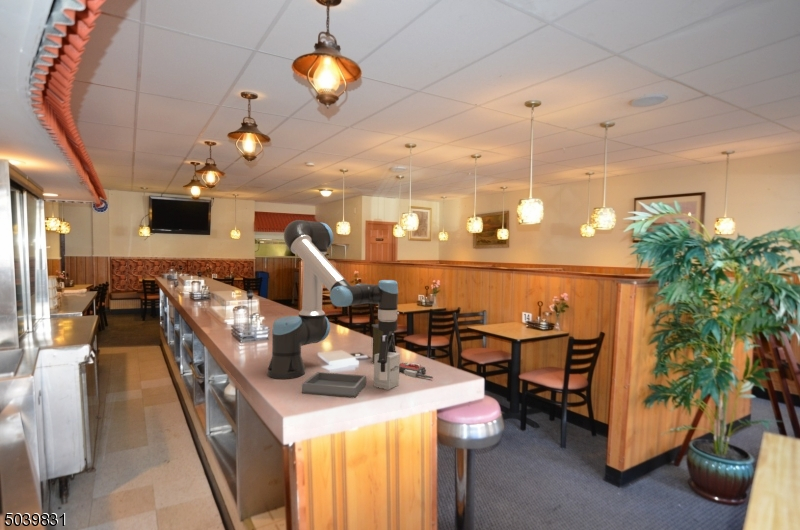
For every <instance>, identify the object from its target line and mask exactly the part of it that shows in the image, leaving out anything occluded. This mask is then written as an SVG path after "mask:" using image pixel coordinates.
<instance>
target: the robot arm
mask: <svg viewBox="0 0 800 530" xmlns="http://www.w3.org/2000/svg"><path fill="white" fill-rule="evenodd" d="M283 240H284V243H285V245H286V247H287V248H288V249H289V250H290V252H291V253H293V254H295V255H297V256H298V257H299V258H300V259H301V260H302V261H303V271H302V272H303V274H302V275H303V277H302V279H303V280H302V303H301V304H302V308H301V310H300V311H299V312H298V315H290V316H283V317H280V318H276V320H274V321H273V323H272V331H271V333H272V335H271V336H272V343H271V344H272V346H271V347H272V351H271V352H272V353H271V354H272V355H271V358H270V361H269V365H268V368H267V376H268V377H269V378H271V379H272V378H273V379H277V380H280V379H281V380H286V379H287V380H288V379H295V378H298V377H301V376H303V375H305V374H306V366H305V363H304V361H303V357H302V346H303V347H304V346H306V345H312V344H317V343H320V342H323V341H324V340H325V339H326V338H328V336H329V334H330V332H331V323H330V321H329V319H328V317H327V316H326V312H325V311H324V310H323V288H324V287H325V288H326V289H327V290H328V291H329V299H330V302H331V303H332V306H333V305H334V306H335V307H338V308H339V307H344V308H345V307H346V308H347V307H349V306H350V307H351V306H356V305H365V304H373V305H374V304H375V305H378V307H377V319H378V321H377V324H378V330H379V331H383V336H382V335H381V342H380V351H379V360H378V361H377V362H378V363H380V380H387V355H388V352H393V353H397V350H396V343H395V342H396V341H395V332H397V330H398V315H400V312H399V311H398V303H399V302H398V299H399V287H398V284H399V283H398V282H397V280H393V279H382V280H379V281H378V283H377V284H370V283H369V284H368V283H357V284H355V285H354V284H353V285H351V283H349V281H347V279H345V277H344V276H343V275H342V274H341V273H340V271H338V270H337V268H335V266H334V265H333V264H332V263H331V261H329V260H328V258H326V256H325V255H327V254H328V248H329V247H331V245H332V244H333V242H334V233H333V231H332V228H331V227H330V226H329V225H328V224H327V223H325V222H320V221H313V220H303V219H302V220H301V219H296V220H293V221H291V222H289V224H287V225H286V227H285V229H284V232H283ZM323 286H324V287H323Z"/></svg>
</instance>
